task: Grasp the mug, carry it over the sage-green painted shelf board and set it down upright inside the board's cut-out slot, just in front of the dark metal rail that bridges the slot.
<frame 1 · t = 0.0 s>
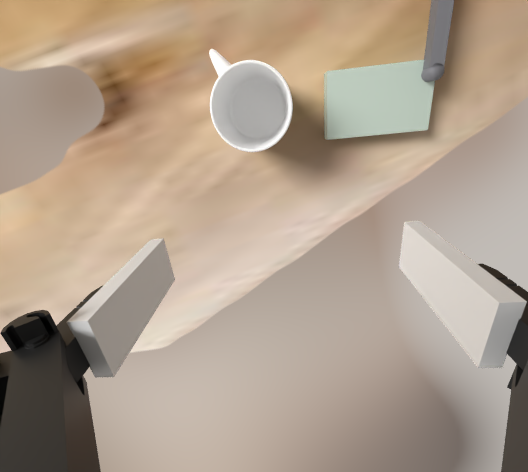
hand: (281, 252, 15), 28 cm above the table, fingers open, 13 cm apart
mug: (250, 99, 37), on the table
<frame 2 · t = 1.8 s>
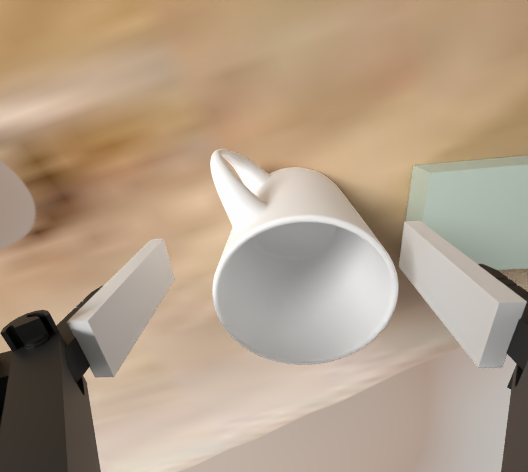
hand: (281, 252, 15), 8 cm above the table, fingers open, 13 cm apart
mug: (280, 200, 22), on the table
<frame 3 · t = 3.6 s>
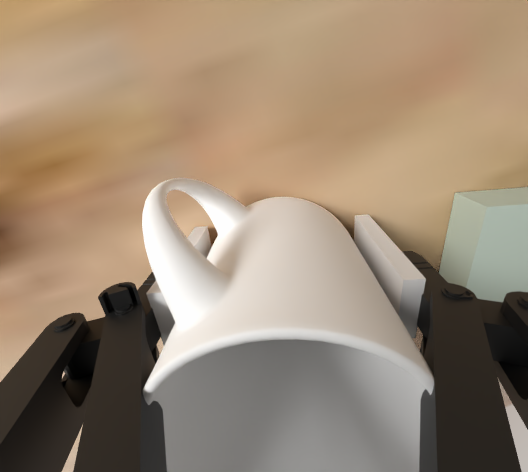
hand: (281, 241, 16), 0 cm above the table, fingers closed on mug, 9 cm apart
mug: (266, 237, 17), on the table, touching gripper
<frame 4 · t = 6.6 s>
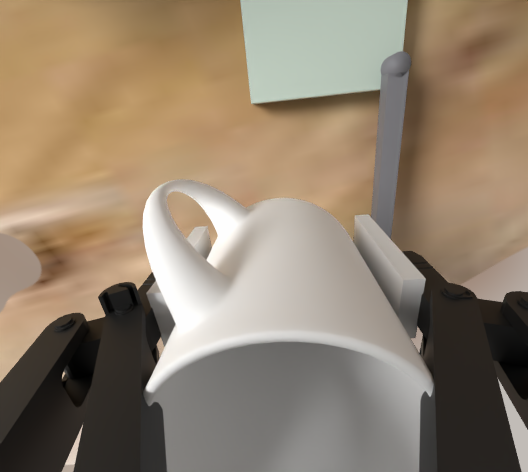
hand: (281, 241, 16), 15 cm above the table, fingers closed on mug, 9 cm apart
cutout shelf: (315, 179, 29), on the table
mug: (266, 238, 17), point 14 cm above the table, touching gripper
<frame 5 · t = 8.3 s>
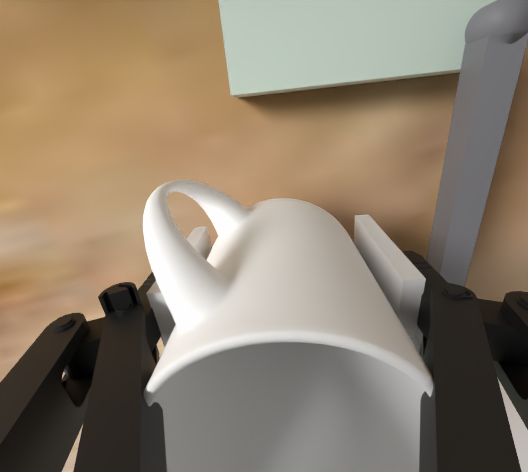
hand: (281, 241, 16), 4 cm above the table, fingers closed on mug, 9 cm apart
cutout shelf: (335, 213, 19), on the table
mug: (266, 238, 17), point 3 cm above the table, touching gripper
when the fingers open (2 cm above the table, at t = 9.7 s): mug drops 1 cm, on the table.
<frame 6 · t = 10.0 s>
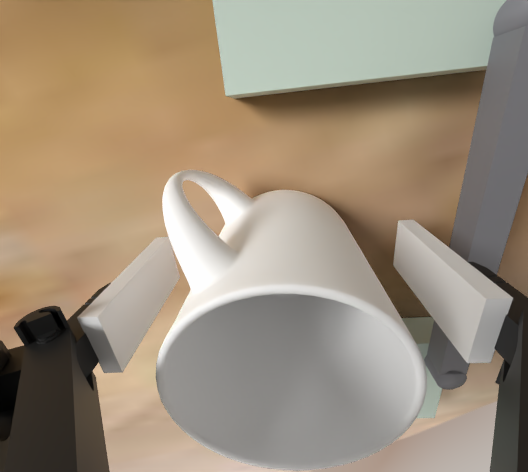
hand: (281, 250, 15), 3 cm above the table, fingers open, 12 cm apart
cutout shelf: (342, 225, 17), on the table
mug: (269, 228, 18), on the table
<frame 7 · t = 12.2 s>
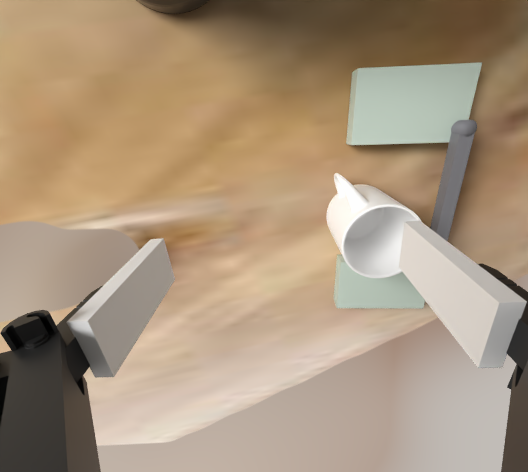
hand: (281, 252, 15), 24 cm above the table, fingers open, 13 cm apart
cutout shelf: (385, 203, 37), on the table
mug: (349, 202, 38), on the table
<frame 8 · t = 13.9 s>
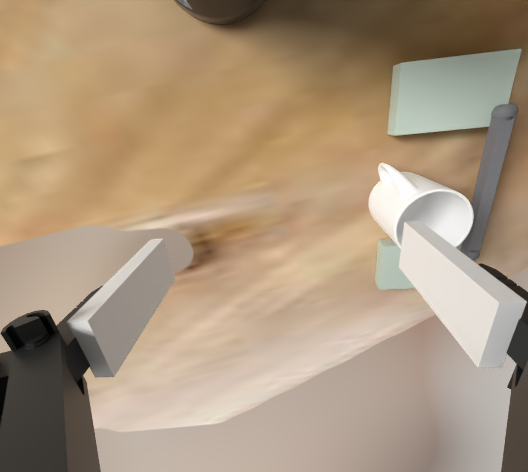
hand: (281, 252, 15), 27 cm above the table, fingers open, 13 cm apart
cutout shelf: (424, 187, 39), on the table
mug: (390, 189, 40), on the table
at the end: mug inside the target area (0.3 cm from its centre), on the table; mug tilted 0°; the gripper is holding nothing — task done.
